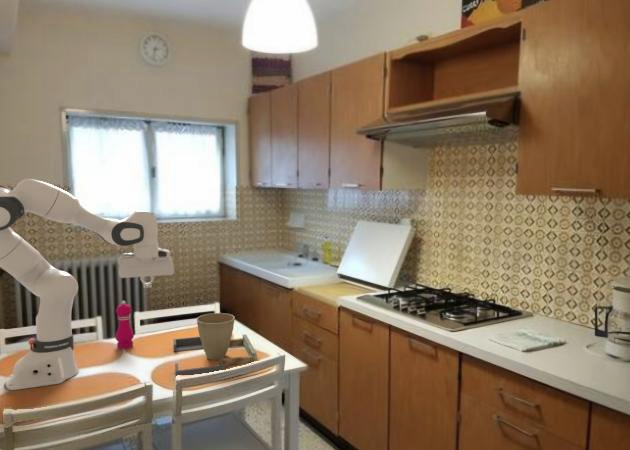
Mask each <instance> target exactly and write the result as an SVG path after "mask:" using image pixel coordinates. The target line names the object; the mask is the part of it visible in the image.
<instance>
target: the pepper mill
mask: <svg viewBox="0 0 630 450" xmlns="http://www.w3.org/2000/svg"><path fill="white" fill-rule="evenodd" d="M120 303H121V304H119V305H118V306H117V307H116V310H115V312H116V314H117V320H118V328H117V331H116V333H115V340H116V342H117V344H116V345H117V346H116V347H117V349H120V350H126V349H130V348H132V347H133V346H134V341H133V339H134V337H135V334H134V331H133V329H132V327H131V323H130V319H131V312H132V307H131V305H130V304H127V301H125V300H122V301H121V302H120Z"/></svg>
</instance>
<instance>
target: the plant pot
mask: <svg viewBox="0 0 630 450" xmlns="http://www.w3.org/2000/svg"><path fill="white" fill-rule="evenodd" d="M196 324H197V330H198V334H199V335H198V336H199V337H200V339H201V343H202V346H203V349H202V350H203V352H204V354H205V356H206V358H207V359H208V360H212V361H214V360H215V361H217V360H218V361H219V359H221V358H222V359H225V357H226V356H227V353H228V350H229V347H230V346H229V344H230V340H231V339H232V336H233V331H234V326H235V316H234V315H233V314H231V313H223V312H214V313H213V312H212V313H211V312H210V313H205V314H202V315H200V316H198V317H196Z"/></svg>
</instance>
